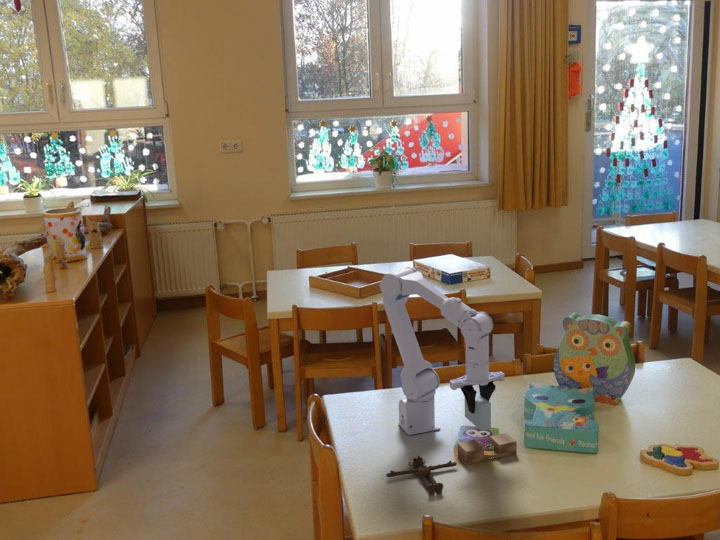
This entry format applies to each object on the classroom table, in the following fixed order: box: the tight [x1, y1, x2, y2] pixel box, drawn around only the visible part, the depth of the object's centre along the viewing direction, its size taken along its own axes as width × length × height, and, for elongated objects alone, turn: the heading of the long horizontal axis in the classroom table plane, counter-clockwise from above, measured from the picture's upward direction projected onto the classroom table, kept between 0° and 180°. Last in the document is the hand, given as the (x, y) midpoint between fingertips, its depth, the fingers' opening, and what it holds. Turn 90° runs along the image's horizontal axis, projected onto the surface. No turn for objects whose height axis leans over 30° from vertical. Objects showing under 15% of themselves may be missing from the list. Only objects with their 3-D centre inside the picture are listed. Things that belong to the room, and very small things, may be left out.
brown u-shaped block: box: [456, 432, 518, 465], centre depth 191 cm, size 14×5×4 cm, turn 108°
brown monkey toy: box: [385, 455, 458, 496], centre depth 180 cm, size 18×4×14 cm
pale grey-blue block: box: [464, 392, 492, 431], centre depth 194 cm, size 3×9×7 cm, turn 19°
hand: (477, 410), depth 194 cm, fingers closed on pale grey-blue block, 3 cm apart
